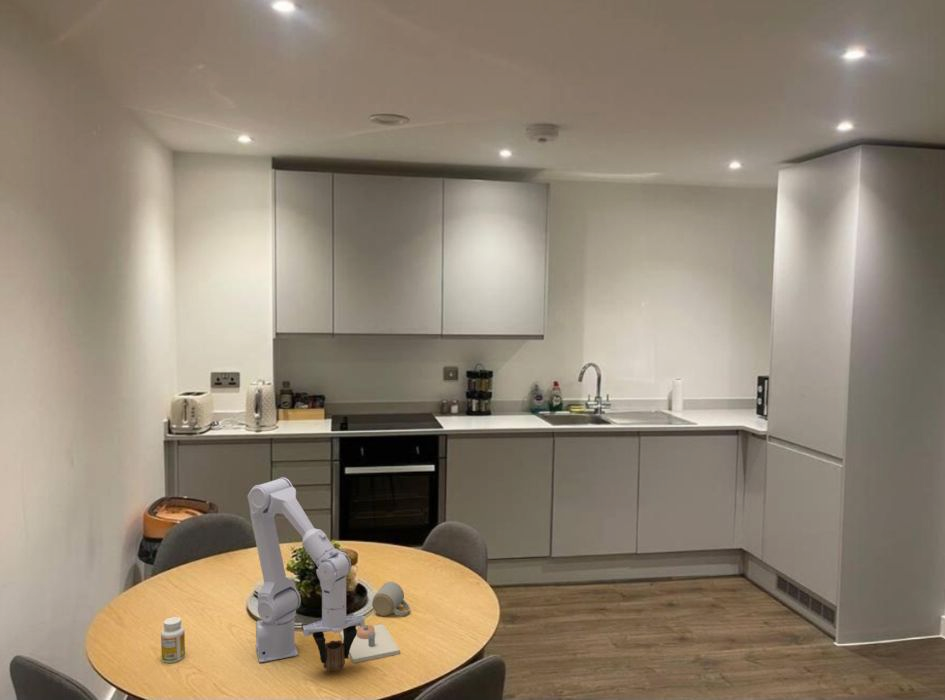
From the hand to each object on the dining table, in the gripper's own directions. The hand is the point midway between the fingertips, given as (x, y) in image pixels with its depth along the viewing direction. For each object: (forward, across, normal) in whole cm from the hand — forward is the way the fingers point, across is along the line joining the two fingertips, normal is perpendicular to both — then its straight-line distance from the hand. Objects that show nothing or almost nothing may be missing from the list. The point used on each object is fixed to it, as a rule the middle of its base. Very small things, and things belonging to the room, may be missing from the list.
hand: (334, 658), depth 167 cm
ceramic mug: (+3, +22, +25) cm, 34 cm away
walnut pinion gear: (+2, 0, 0) cm, 2 cm away
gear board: (+3, +11, +9) cm, 15 cm away
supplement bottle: (+3, -36, +21) cm, 42 cm away
